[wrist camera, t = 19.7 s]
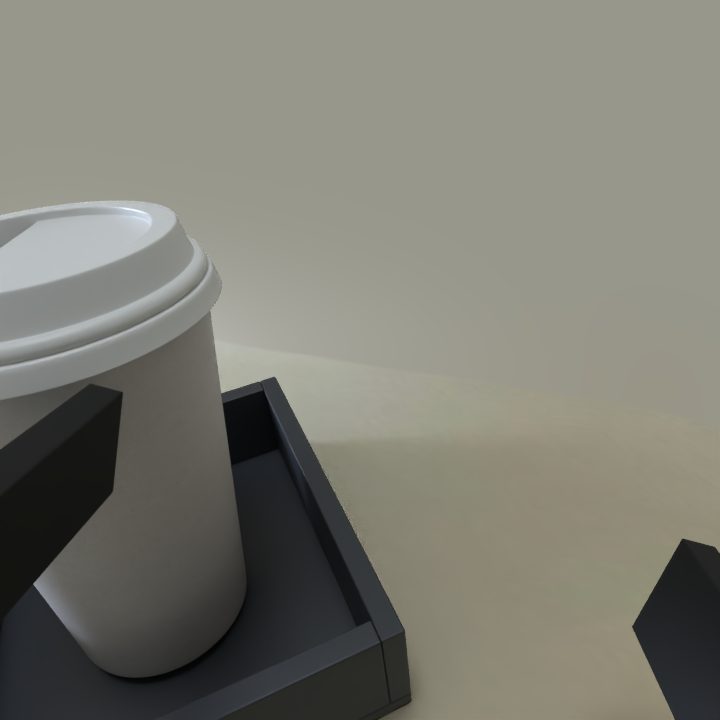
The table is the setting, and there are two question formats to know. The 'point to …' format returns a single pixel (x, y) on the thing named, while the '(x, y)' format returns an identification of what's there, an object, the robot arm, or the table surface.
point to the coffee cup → (128, 424)
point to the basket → (243, 609)
